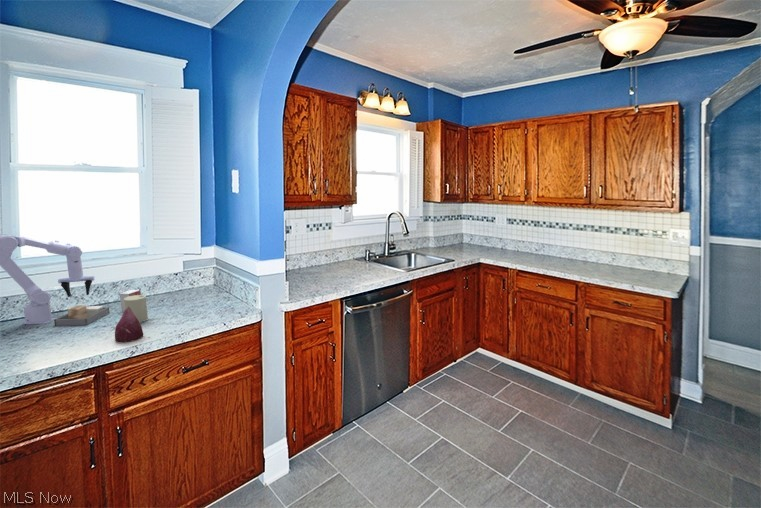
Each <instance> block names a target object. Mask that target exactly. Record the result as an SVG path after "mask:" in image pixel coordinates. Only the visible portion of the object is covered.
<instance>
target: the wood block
mask: <svg viewBox="0 0 761 508" xmlns="http://www.w3.org/2000/svg"><path fill="white" fill-rule="evenodd" d="M86 306H87V305H75V306H72V307H70V308H68V309H67V314H68V316H69V319H86V318H88V317H87V309H86Z"/></svg>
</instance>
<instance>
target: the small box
mask: <svg viewBox="0 0 761 508" xmlns="http://www.w3.org/2000/svg"><path fill="white" fill-rule="evenodd" d="M141 292H142V291H141V290H140V289H129V290H127V291H123V292H121V293H119V299H120V300H119V302H120V310H121V311H120V312H121V313H124V311H125V303H124V298H126V297H129V296H134V295H142V293H141Z"/></svg>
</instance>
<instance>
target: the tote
mask: <svg viewBox="0 0 761 508" xmlns="http://www.w3.org/2000/svg"><path fill="white" fill-rule="evenodd" d="M103 307H104V308H103V310H101V311H99V312H98V313H96V314H94V315H92V316H90V317H88V318H86V319H69V316H68V313H65V314H64V315H61V316H60V317H56V319H54V320H53V321H54V323H53V324H54V327H67V326H69V327H70V326H71V327H73V326H88V325H90V324H92V323H94V322H96V321H97V320H99V319H101V318H102V317H105V316H107V315H108V314H110V307H109V306H103Z"/></svg>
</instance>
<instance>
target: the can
mask: <svg viewBox="0 0 761 508" xmlns="http://www.w3.org/2000/svg"><path fill="white" fill-rule="evenodd" d="M124 303H125V309H126V308H127V307H128V306H129V308H131V310H132V312H133V313H134V315H135V316H136V318H137V319H138V320H139V322H140V323H143V322H142V321H144V322H146V321H148V320H149V316H148V307H147V296H146V295H144V294H141V295H134V296H129V297H126V298H124ZM147 319H148V320H147ZM145 320H146V321H145Z"/></svg>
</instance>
